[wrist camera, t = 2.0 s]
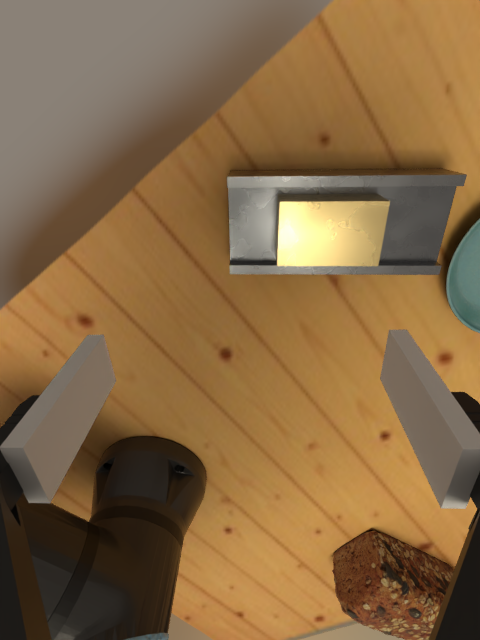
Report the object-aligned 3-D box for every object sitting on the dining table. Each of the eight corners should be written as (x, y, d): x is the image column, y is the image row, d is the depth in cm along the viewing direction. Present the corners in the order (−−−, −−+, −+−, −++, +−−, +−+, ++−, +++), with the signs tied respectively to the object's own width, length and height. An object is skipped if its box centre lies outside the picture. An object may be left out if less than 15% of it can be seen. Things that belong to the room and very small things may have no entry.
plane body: (232, 258, 35) (229, 274, 31) (230, 170, 31) (226, 176, 28) (420, 258, 34) (439, 274, 31) (442, 168, 30) (466, 174, 27)
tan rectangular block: (275, 253, 31) (277, 266, 29) (277, 194, 29) (279, 201, 26) (367, 254, 31) (378, 266, 28) (377, 193, 29) (390, 201, 26)
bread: (327, 552, 59) (339, 627, 51) (373, 522, 55) (396, 598, 46) (406, 589, 64) (430, 663, 55) (455, 563, 59) (490, 640, 51)
